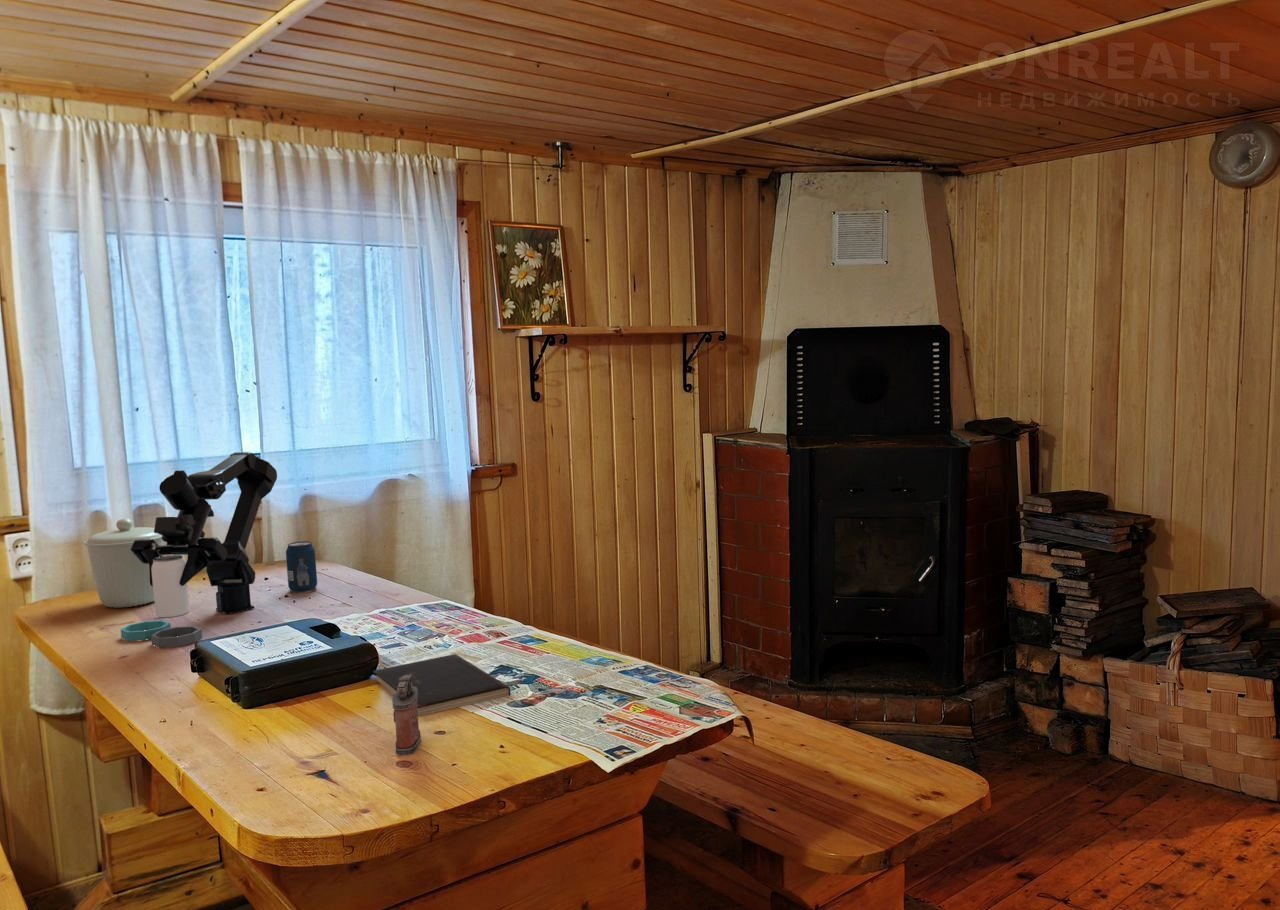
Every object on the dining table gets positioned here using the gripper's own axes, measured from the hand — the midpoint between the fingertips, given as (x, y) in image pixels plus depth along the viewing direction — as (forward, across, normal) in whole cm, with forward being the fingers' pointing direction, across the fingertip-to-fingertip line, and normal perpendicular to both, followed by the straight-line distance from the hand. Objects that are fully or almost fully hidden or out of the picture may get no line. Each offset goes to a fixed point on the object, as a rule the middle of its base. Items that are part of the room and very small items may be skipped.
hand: (166, 585), depth 205 cm
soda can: (-23, +8, +41) cm, 48 cm away
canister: (-16, -31, +34) cm, 49 cm away
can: (+4, 0, +6) cm, 7 cm away
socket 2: (+8, +1, +9) cm, 12 cm away
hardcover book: (+30, +66, -12) cm, 73 cm away
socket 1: (+4, -9, +13) cm, 17 cm away
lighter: (+47, +69, -30) cm, 89 cm away
